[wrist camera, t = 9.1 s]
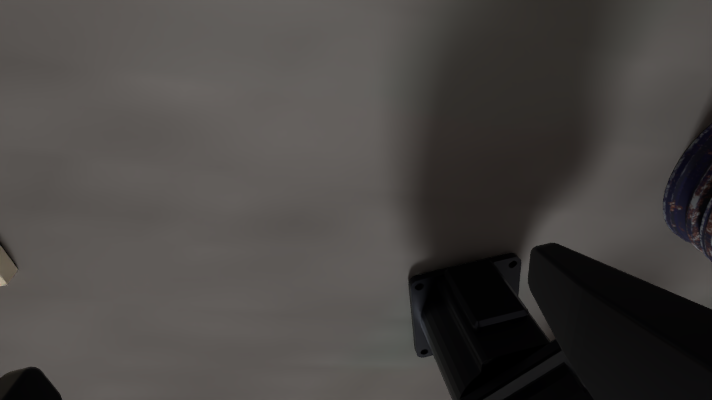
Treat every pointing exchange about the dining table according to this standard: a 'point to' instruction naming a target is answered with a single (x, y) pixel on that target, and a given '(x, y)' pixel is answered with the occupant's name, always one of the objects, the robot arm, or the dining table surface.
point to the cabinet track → (6, 268)
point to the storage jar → (692, 195)
